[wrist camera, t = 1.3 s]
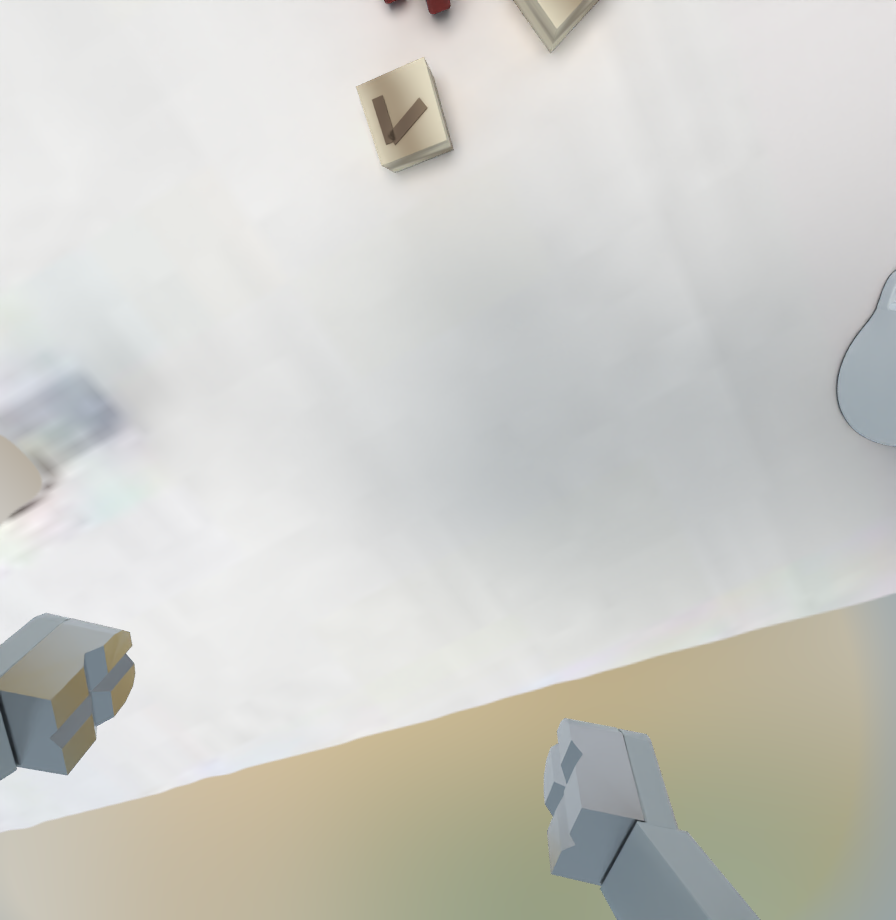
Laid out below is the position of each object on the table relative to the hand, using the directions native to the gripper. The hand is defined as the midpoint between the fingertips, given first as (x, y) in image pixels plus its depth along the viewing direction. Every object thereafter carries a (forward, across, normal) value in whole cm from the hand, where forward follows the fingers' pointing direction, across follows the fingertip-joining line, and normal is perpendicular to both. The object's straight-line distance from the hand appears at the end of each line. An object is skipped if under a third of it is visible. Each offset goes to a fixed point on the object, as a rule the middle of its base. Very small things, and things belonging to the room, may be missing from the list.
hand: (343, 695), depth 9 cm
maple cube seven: (+40, +7, -15) cm, 43 cm away
